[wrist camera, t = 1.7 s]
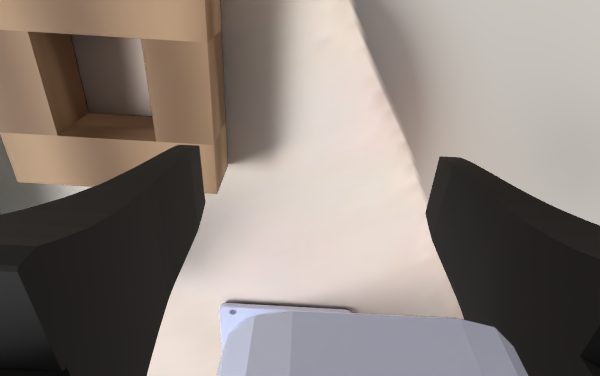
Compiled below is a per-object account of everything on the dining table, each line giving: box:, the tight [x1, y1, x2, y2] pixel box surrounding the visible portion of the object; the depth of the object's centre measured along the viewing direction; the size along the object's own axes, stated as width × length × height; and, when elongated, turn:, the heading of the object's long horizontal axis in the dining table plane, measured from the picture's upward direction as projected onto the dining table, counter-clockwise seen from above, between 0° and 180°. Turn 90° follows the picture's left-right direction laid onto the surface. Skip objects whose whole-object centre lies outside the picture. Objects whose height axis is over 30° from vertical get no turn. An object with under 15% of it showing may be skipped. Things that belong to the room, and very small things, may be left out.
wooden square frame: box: [0, 0, 228, 194], centre depth 19 cm, size 10×10×3 cm
